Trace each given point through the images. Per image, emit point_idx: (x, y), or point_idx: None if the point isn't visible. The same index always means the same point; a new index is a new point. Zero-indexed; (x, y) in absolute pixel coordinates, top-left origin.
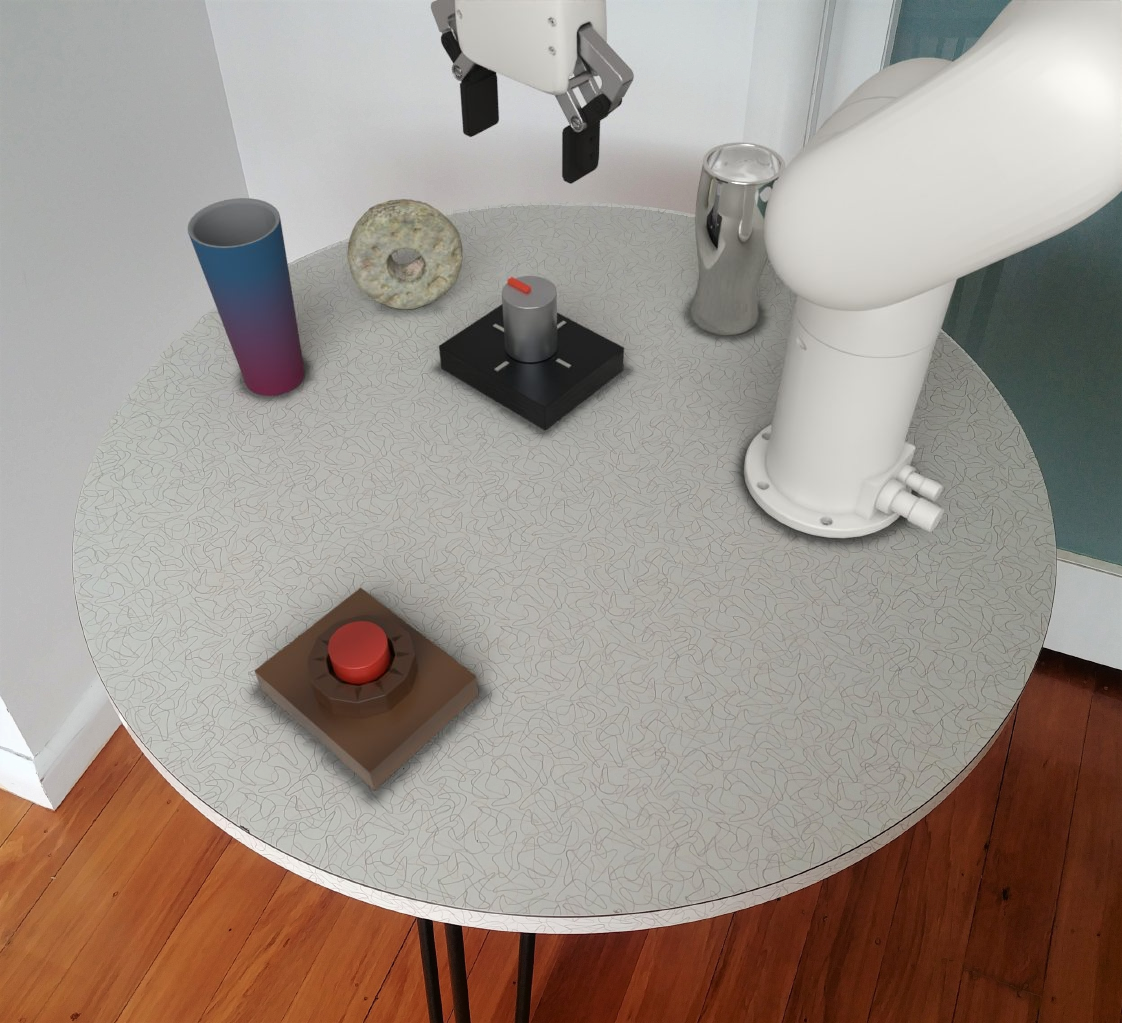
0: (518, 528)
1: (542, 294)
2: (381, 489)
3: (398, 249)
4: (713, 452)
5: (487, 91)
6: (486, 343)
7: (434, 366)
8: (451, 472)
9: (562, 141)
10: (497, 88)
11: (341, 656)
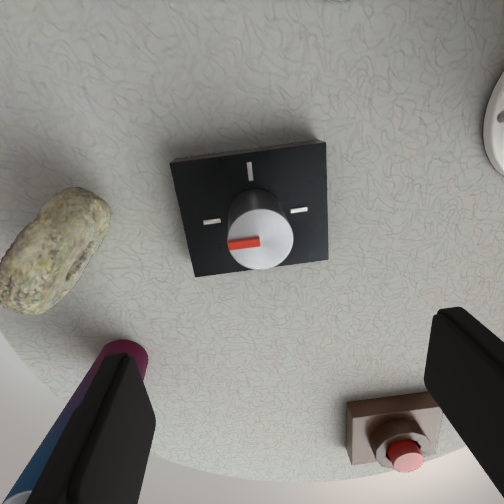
0: (374, 318)
1: (275, 233)
2: (279, 358)
3: (66, 275)
4: (452, 159)
5: (109, 474)
6: (221, 243)
7: (190, 266)
8: (301, 321)
9: (487, 473)
10: (98, 439)
11: (407, 469)
